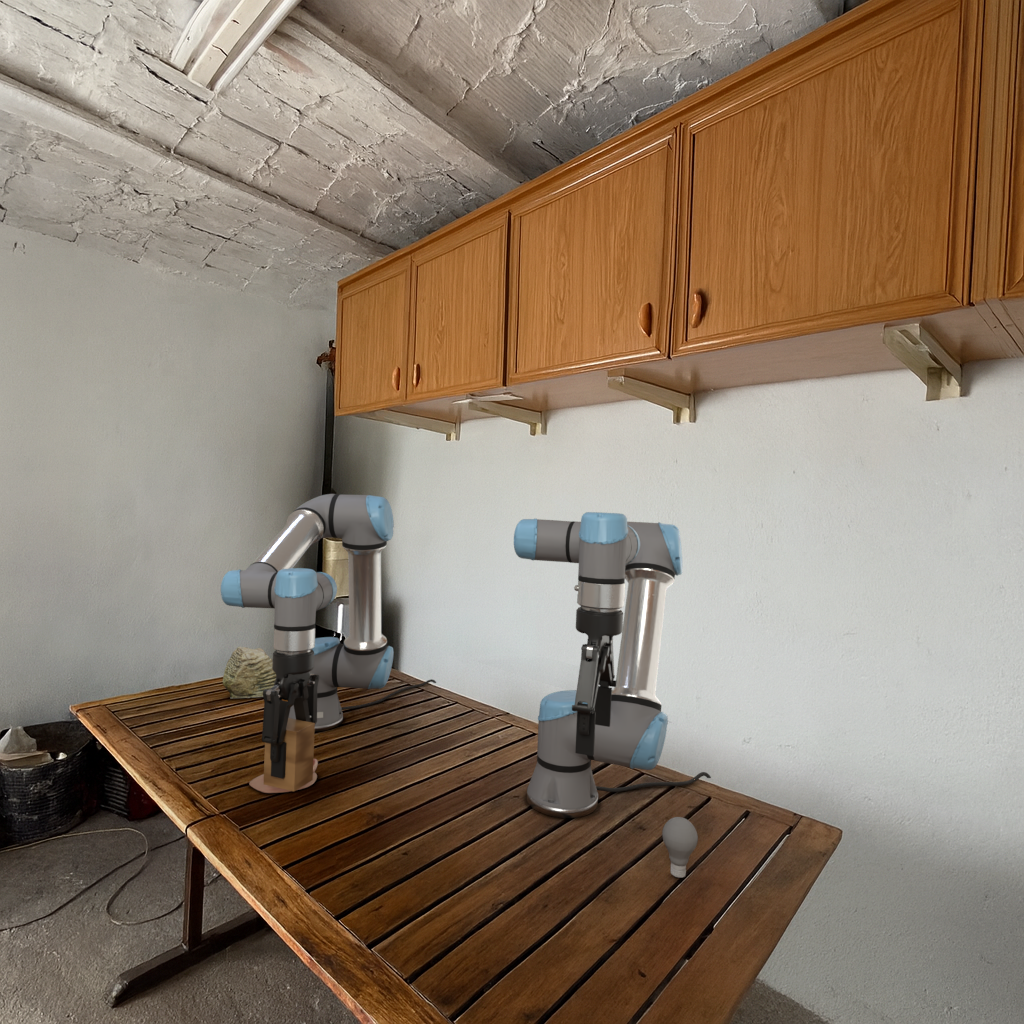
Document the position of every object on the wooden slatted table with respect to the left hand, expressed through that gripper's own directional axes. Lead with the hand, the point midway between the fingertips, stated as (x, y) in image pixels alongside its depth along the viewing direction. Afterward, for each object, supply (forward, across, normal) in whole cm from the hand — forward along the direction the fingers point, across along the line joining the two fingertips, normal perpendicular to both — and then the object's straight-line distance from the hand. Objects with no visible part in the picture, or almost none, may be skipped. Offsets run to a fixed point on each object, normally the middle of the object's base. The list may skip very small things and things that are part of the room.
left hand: (289, 769), depth 122 cm
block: (+2, 0, 0) cm, 2 cm away
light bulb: (+11, -14, +72) cm, 74 cm away
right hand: (-15, -1, +58) cm, 61 cm away
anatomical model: (+11, -14, -13) cm, 22 cm away
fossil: (+10, -59, -61) cm, 86 cm away
